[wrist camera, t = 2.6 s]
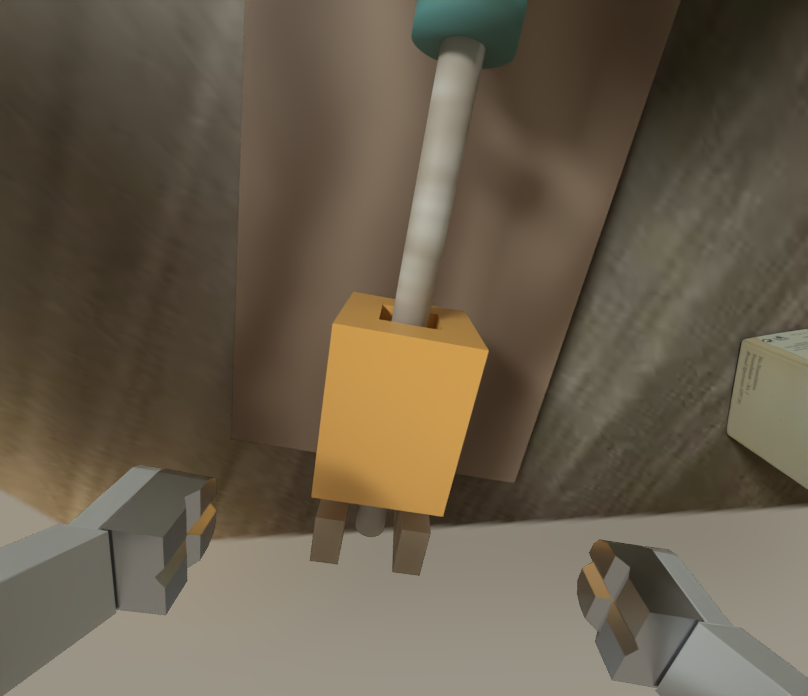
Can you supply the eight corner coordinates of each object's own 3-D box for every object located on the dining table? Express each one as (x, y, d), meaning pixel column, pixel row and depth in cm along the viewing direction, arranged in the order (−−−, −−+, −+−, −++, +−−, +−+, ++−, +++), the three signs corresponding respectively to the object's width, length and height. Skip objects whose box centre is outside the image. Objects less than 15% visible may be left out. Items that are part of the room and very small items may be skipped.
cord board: (242, 424, 22) (139, 558, 13) (266, -131, 14) (50, -665, 5) (507, 466, 23) (567, 615, 14) (672, -32, 15) (1027, -355, 6)
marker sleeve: (334, 425, 16) (311, 497, 12) (353, 291, 14) (332, 323, 10) (433, 441, 17) (442, 516, 13) (465, 311, 15) (488, 350, 11)
